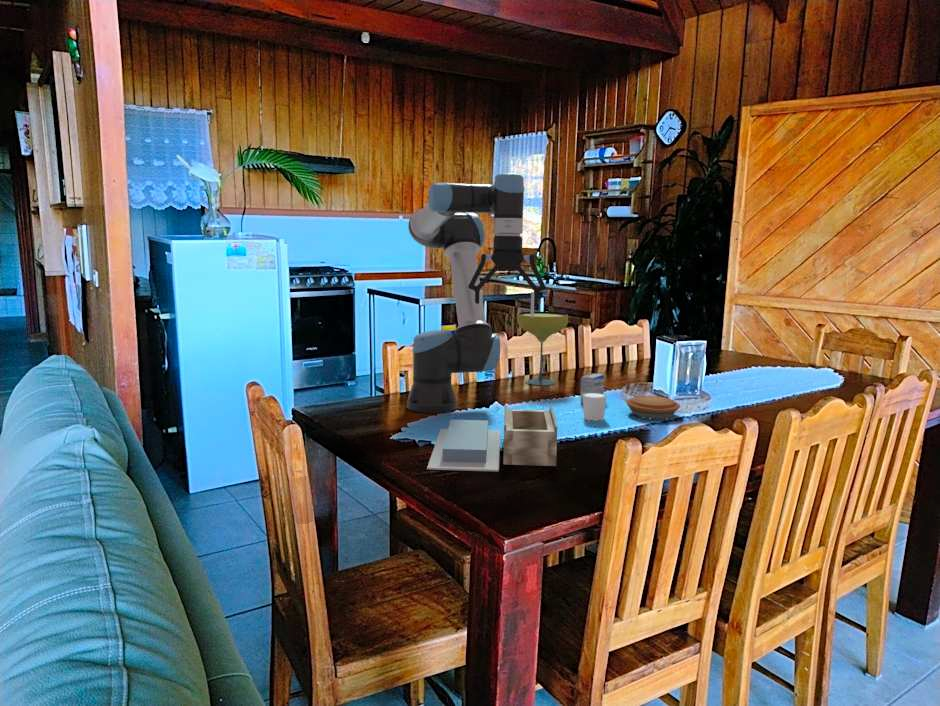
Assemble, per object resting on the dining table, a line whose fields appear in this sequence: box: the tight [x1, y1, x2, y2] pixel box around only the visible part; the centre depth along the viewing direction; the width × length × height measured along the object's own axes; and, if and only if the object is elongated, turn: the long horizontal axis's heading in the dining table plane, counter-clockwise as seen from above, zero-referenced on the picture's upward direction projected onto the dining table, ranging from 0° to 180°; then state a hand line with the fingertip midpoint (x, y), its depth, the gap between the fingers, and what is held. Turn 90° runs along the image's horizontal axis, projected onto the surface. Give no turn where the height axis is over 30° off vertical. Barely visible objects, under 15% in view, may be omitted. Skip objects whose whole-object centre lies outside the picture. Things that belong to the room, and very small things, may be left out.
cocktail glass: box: [516, 311, 569, 387], centre depth 246 cm, size 18×18×25 cm
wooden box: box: [502, 404, 558, 467], centre depth 166 cm, size 12×20×9 cm, turn 177°
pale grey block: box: [443, 419, 489, 463], centre depth 169 cm, size 10×26×3 cm, turn 177°
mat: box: [426, 428, 501, 473], centre depth 168 cm, size 16×32×1 cm, turn 177°
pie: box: [625, 395, 681, 420], centre depth 203 cm, size 15×16×5 cm
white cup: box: [582, 393, 608, 422], centre depth 198 cm, size 7×7×7 cm
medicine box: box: [579, 373, 605, 404], centre depth 219 cm, size 8×4×9 cm, turn 143°
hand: (506, 316), depth 181 cm, fingers open, 13 cm apart
